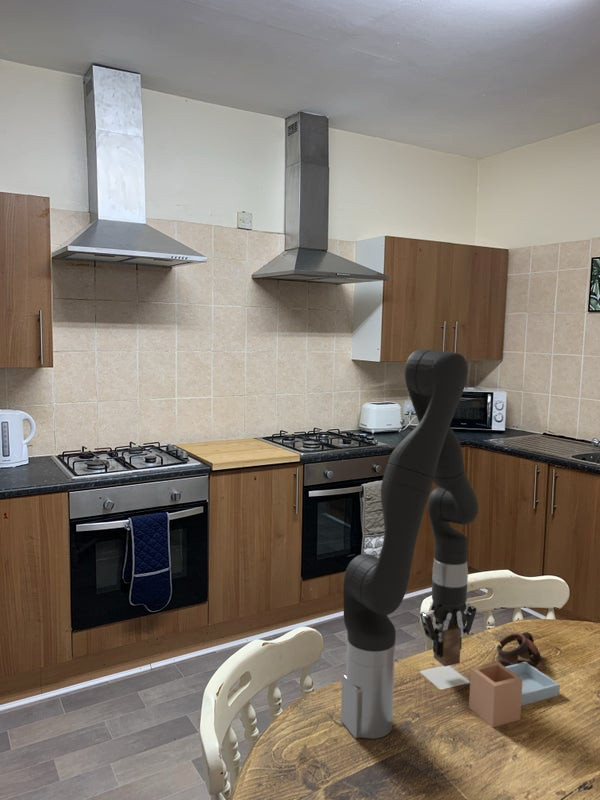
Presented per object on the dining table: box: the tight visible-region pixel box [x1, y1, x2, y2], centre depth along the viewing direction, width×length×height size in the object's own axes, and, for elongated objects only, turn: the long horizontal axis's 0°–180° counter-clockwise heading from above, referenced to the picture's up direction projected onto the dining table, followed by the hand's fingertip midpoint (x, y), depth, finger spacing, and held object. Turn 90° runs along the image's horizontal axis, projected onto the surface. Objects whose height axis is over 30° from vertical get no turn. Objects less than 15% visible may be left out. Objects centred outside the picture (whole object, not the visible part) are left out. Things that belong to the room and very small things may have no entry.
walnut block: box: [433, 624, 461, 666], centre depth 136 cm, size 4×4×8 cm
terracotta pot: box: [468, 661, 523, 728], centre depth 123 cm, size 7×7×9 cm
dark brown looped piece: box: [496, 632, 544, 672], centre depth 144 cm, size 12×10×8 cm
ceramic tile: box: [418, 665, 470, 691], centre depth 137 cm, size 8×8×1 cm
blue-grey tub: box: [505, 661, 561, 707], centre depth 132 cm, size 13×10×3 cm
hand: (447, 653), depth 136 cm, fingers closed on walnut block, 4 cm apart
